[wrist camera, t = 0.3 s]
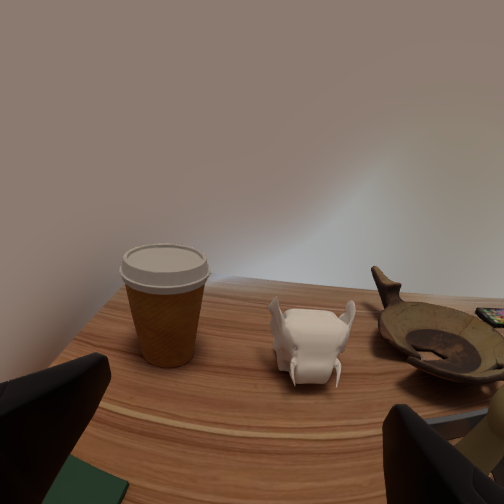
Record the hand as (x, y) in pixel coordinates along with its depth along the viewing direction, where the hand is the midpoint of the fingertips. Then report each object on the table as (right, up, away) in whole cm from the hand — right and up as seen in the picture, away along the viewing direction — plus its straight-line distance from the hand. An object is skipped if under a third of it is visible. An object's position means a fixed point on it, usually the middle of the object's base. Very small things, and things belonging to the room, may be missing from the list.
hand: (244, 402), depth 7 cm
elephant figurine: (+6, -10, +24) cm, 26 cm away
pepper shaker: (+19, -17, +6) cm, 26 cm away
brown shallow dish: (+28, -11, +28) cm, 41 cm away
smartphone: (+56, -11, +36) cm, 68 cm away
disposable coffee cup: (-10, -8, +24) cm, 27 cm away
